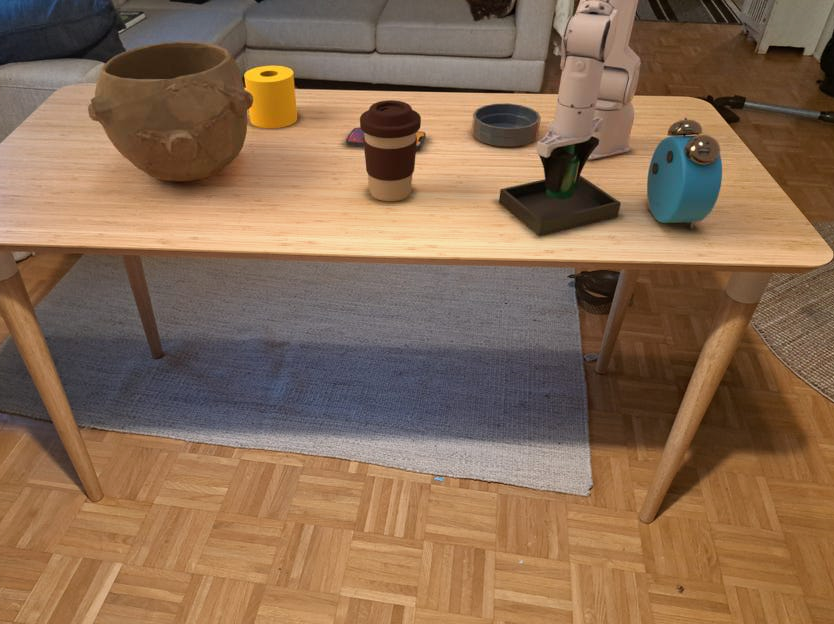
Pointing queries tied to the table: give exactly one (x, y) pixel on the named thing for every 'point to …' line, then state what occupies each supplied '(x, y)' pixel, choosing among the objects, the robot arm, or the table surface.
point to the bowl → (173, 108)
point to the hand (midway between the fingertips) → (561, 185)
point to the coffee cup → (390, 148)
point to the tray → (558, 206)
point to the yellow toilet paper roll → (271, 96)
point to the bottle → (568, 176)
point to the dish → (505, 124)
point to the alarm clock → (684, 175)
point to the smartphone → (358, 136)
